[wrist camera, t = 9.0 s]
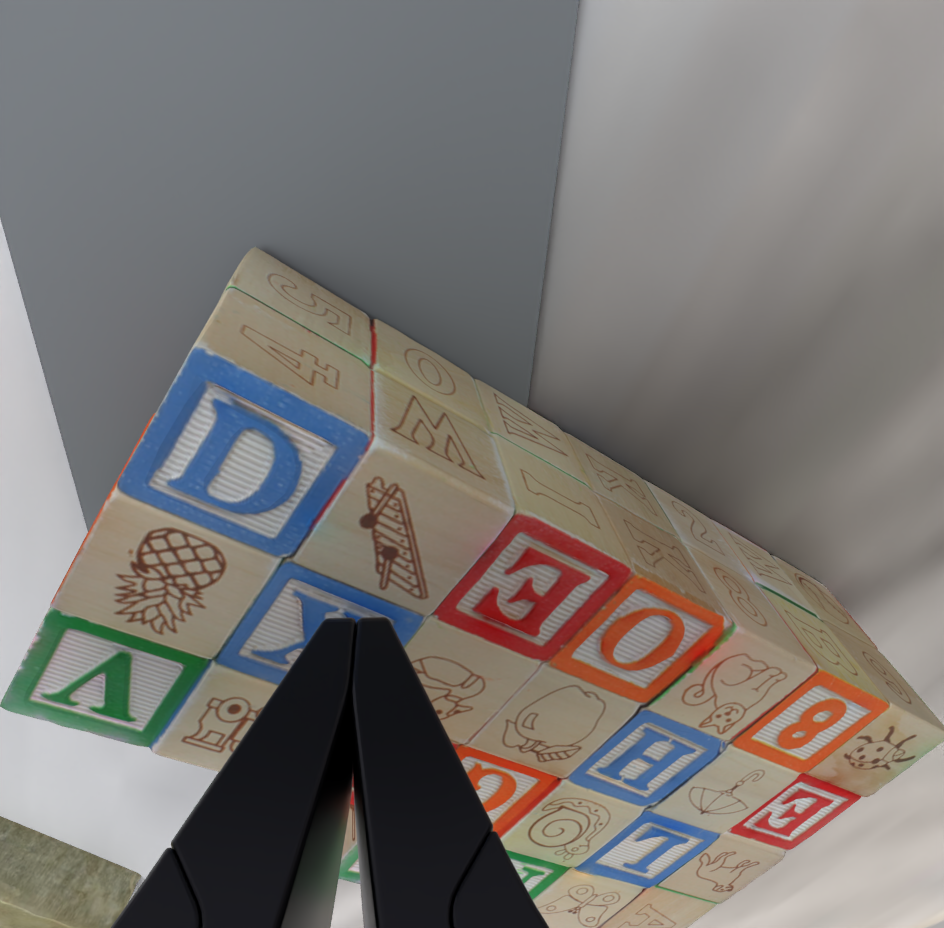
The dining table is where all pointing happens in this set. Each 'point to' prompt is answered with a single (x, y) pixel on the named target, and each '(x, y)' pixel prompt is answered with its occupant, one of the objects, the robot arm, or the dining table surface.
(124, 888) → the decorative tile
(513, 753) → the stack of blocks
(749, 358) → the dining table surface
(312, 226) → the mat
